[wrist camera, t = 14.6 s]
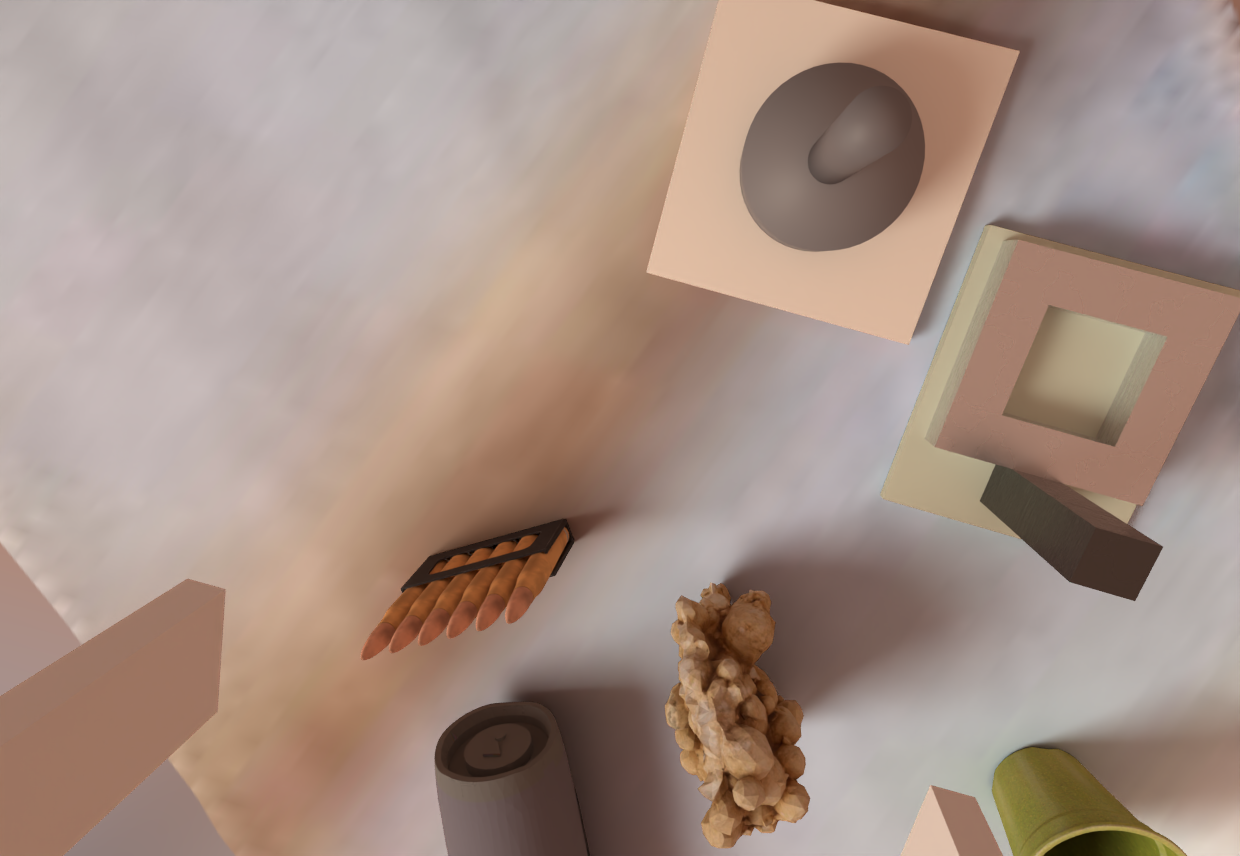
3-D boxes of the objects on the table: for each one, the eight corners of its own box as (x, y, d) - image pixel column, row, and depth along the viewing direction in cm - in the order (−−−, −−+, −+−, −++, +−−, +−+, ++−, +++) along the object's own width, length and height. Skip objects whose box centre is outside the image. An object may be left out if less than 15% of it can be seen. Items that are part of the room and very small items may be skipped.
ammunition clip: (566, 517, 47) (518, 602, 35) (575, 542, 47) (531, 633, 36) (428, 556, 49) (340, 648, 37) (437, 579, 49) (353, 677, 38)
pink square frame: (1003, 240, 39) (1113, 233, 28) (1218, 297, 38) (1416, 311, 27) (907, 480, 42) (972, 553, 32) (1101, 536, 42) (1234, 630, 31)
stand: (724, -14, 38) (731, -181, 24) (1010, 57, 37) (1200, -72, 23) (648, 272, 42) (615, 277, 28) (903, 342, 41) (1006, 386, 27)
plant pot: (1144, 787, 46) (1240, 903, 38) (1030, 863, 49) (1096, 988, 40) (1046, 697, 45) (1121, 796, 37) (936, 779, 48) (983, 888, 40)
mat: (985, 225, 39) (990, 224, 38) (1232, 290, 38) (1243, 291, 38) (880, 494, 44) (883, 498, 43) (1100, 558, 43) (1107, 563, 42)
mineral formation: (698, 738, 50) (693, 934, 35) (642, 573, 47) (611, 711, 33) (808, 717, 48) (850, 913, 34) (757, 545, 46) (778, 677, 31)
